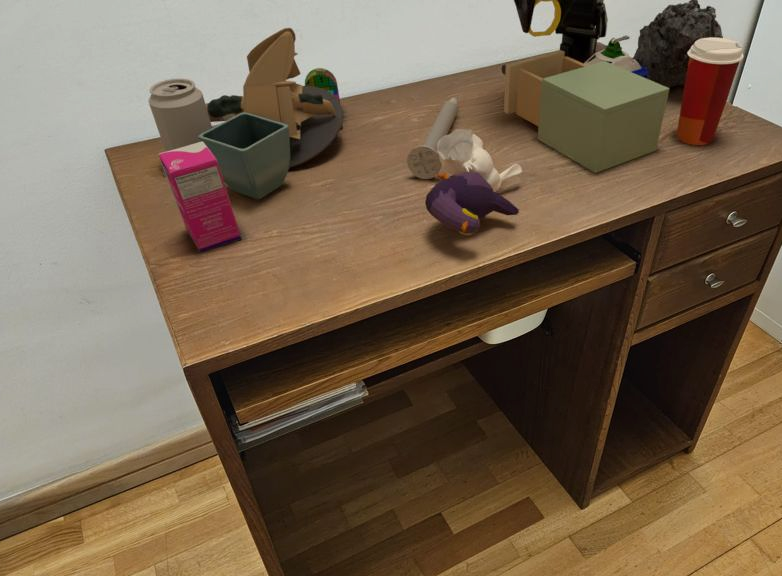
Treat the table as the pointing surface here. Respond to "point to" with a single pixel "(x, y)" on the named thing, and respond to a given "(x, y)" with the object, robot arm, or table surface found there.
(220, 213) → the supplement box
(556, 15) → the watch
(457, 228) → the toy
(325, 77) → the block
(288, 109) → the toy
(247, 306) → the table surface
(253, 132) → the flower pot
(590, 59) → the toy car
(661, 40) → the rock
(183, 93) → the can
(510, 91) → the drawer
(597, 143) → the storage box
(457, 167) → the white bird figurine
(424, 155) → the screw
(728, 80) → the paper cup
